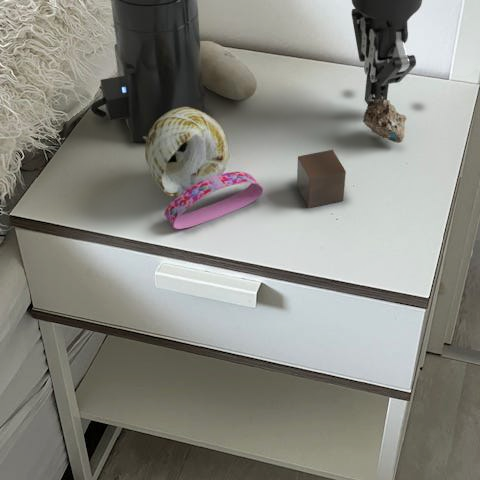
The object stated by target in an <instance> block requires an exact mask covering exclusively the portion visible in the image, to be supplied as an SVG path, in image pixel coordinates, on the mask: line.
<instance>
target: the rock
mask: <svg viewBox="0 0 480 480" xmlns="http://www.w3.org/2000/svg"><path fill="white" fill-rule="evenodd" d="M347 94H349V93H347ZM373 97H374V98H375V95H374V94H373ZM371 99H372V95H370V96H369V98H368V100H367V101H369V103H368V104H367V105H366V109H365V112H364V115H363V120H362V123H363V124H364V125H365V126H366V127H367V128H369V129H370V130H371V132H372V133H374V134H375V135H377V136H379V137H381V139H386V140H387V139H388V141H391V142H395V143H398V144H399V143H402V142H403V140H404V138H405V127H406V126H405V124H406V123H405V122H406V121H407V116H406V115H405V114H401V113H399V112H398V111H396V108H395V106H394V104H392V103H391V101H390V100H389V99H387V100H382V99H383V97H382V99H377V100H371Z"/></svg>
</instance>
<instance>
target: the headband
mask: <svg viewBox="0 0 480 480" xmlns="http://www.w3.org/2000/svg"><path fill="white" fill-rule="evenodd" d="M239 184H240V185H241V184H249V185H248V186H246V188H244V189H243V190H241V191H240V192H238V193H236V194H234V195H231V196H229V197H227V198H224V199H222V200H220V201H217V202H214V203H212V204H209V205H207V206H205V207H201V208H199V209H196V210H194V211H190V212H186V213H184V212H185V211H186V210H187V209H188V208H190V207H191V206H192V205H194V204H195V203H197V202H198V201H200V200H202V198H205V197H206V196H208V195H210V194H212V193H215V192H216V191H218V190H221V189H224V188H227V187H230V186H234V185H239ZM263 193H264V188H263V187H262V185H261V184H260V183H259V182H258V181H257V180H256V179H255V178H254V176H253V175H251V174H250V173H249V172H244V171H231V172H223V173H222V174H220V175H216V176H212V177H210V178H208V179H206V180H203V181H201V182H199V183H197V184H196V185H194V186H192V187H190V188H189V189H187V190H186V191H184V192H183V193H182V194H180V195H178V196H176V198H174V200H172V201H171V202H170V203H169V205H168V206H167V207H166V208H165V210H164V213H163V215H164V217H165V218H166V219H167V221H168V222H169V223H170V224H171V226H172V227H173V228H174V229H175V230H183V229H187V228H191V227H195V226H198V225H201V224H204V223H207V222H209V221H213V220H214V219H217V218H220V217H222V216H225V215H228V214H231V213H232V212H236V211H237V210H239V209H242V208H244V207H247V206H249V205H250V204H251V203H253V202H255V201H256V200H257V199H259V198H260V197H261V196H262V194H263ZM183 213H184V214H183Z"/></svg>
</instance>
